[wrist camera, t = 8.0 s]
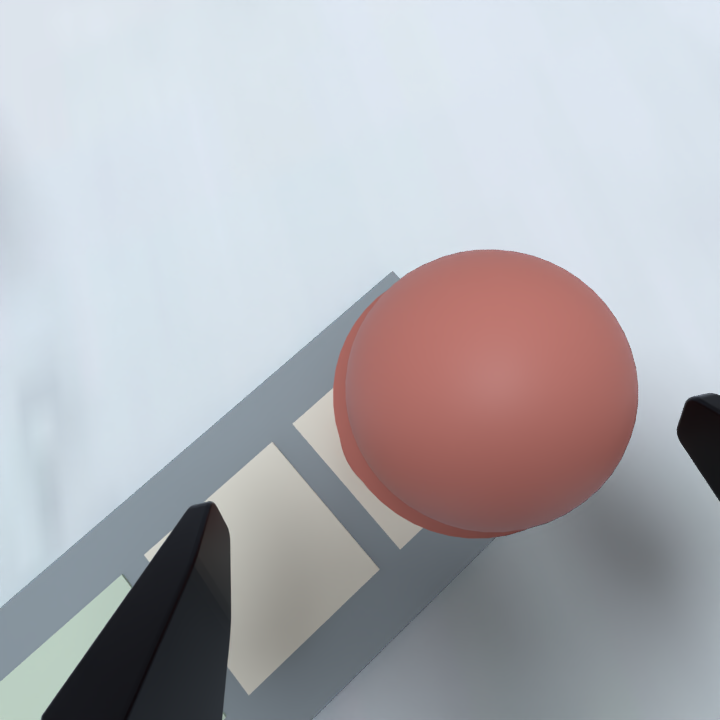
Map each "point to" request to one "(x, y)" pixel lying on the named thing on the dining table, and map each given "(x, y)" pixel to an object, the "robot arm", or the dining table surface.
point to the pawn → (485, 394)
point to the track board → (251, 554)
